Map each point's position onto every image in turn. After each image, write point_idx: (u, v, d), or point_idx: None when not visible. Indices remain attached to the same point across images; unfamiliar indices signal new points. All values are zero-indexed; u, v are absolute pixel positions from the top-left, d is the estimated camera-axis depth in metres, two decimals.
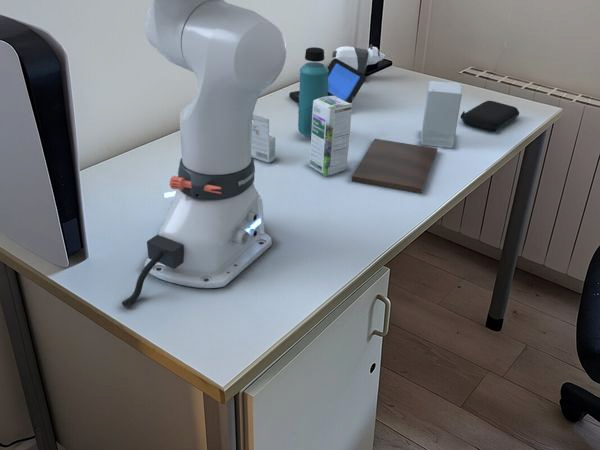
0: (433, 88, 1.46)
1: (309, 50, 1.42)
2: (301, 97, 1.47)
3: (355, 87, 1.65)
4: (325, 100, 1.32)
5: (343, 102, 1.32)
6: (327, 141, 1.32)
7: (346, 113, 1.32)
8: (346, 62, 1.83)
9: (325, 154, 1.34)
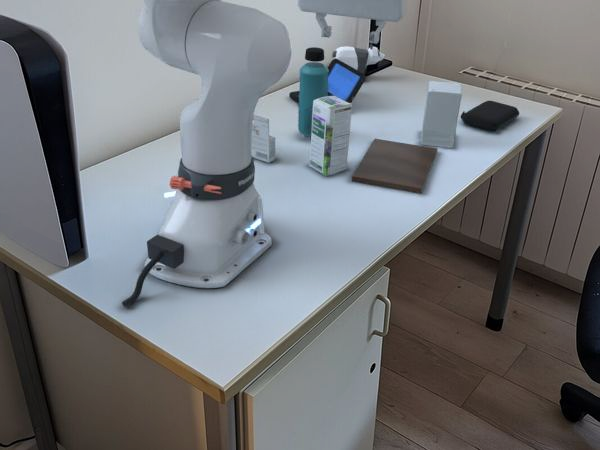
0: (433, 88, 1.46)
1: (309, 50, 1.42)
2: (301, 97, 1.47)
3: (355, 87, 1.65)
4: (325, 100, 1.32)
5: (343, 102, 1.32)
6: (327, 141, 1.32)
7: (346, 113, 1.32)
8: (346, 62, 1.83)
9: (325, 154, 1.34)
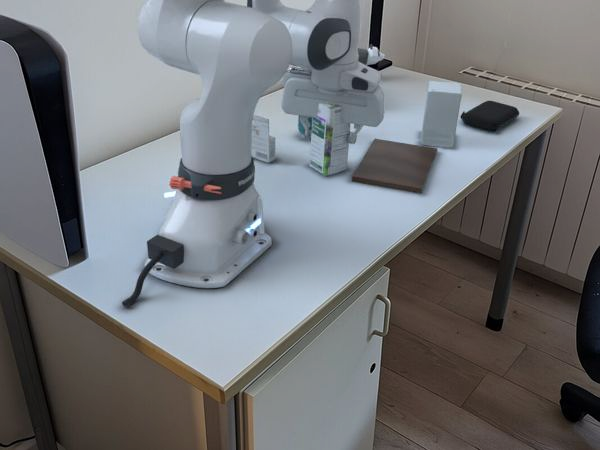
0: (433, 88, 1.46)
1: None
2: None
3: None
4: None
5: None
6: (327, 141, 1.32)
7: None
8: None
9: (325, 154, 1.34)
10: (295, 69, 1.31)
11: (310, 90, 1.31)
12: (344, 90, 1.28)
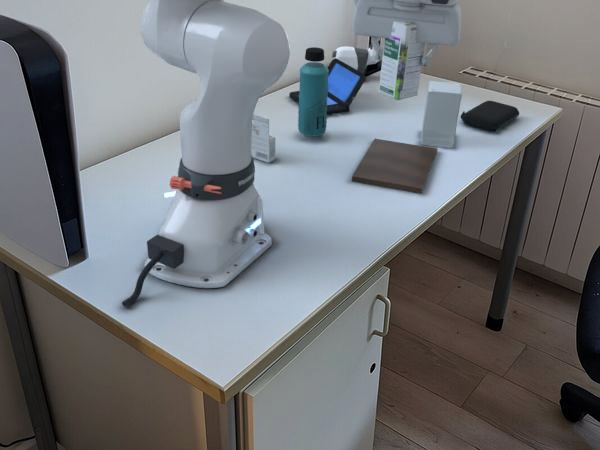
0: (433, 88, 1.46)
1: (309, 50, 1.42)
2: (301, 97, 1.47)
3: (355, 87, 1.65)
4: None
5: None
6: (401, 62, 1.27)
7: None
8: (346, 62, 1.83)
9: (398, 76, 1.28)
10: None
11: (384, 7, 1.25)
12: (421, 6, 1.23)
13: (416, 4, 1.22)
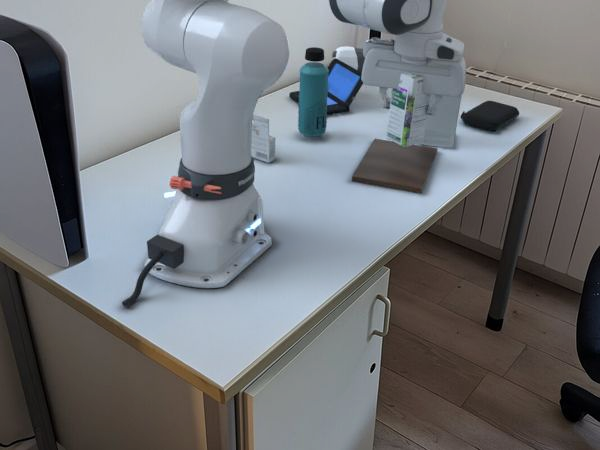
0: None
1: (309, 50, 1.42)
2: (301, 97, 1.47)
3: (355, 87, 1.65)
4: None
5: None
6: (408, 112, 1.32)
7: None
8: (346, 62, 1.83)
9: (405, 125, 1.34)
10: (377, 39, 1.31)
11: (392, 60, 1.31)
12: (428, 60, 1.28)
13: (423, 58, 1.28)
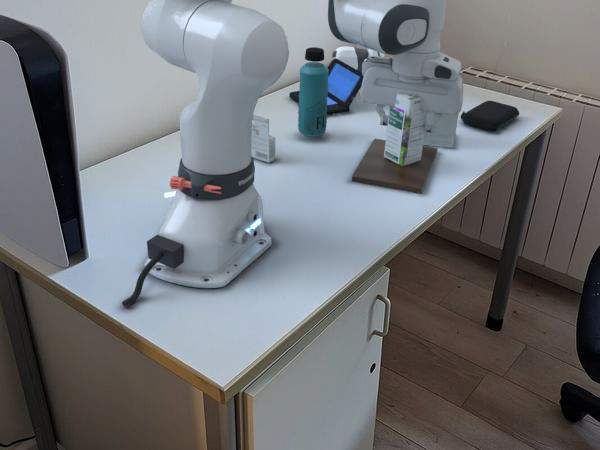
0: None
1: (309, 50, 1.42)
2: (301, 97, 1.47)
3: (355, 87, 1.65)
4: None
5: None
6: (405, 132, 1.35)
7: None
8: (346, 62, 1.83)
9: (402, 145, 1.36)
10: (375, 58, 1.33)
11: (390, 79, 1.33)
12: (425, 79, 1.30)
13: (420, 77, 1.30)
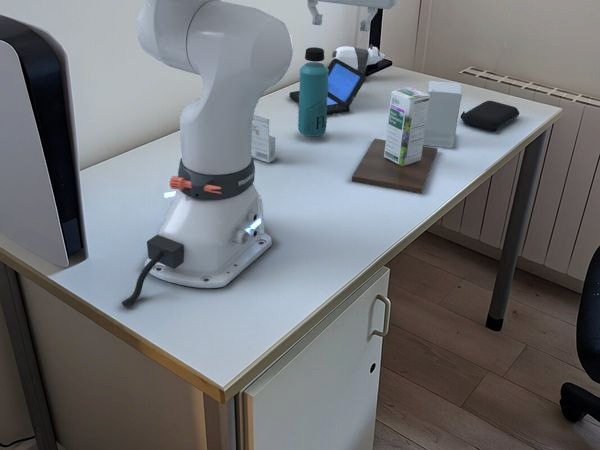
0: (433, 88, 1.46)
1: (309, 50, 1.42)
2: (301, 97, 1.47)
3: (355, 87, 1.65)
4: (403, 91, 1.34)
5: (421, 93, 1.34)
6: (405, 132, 1.35)
7: (424, 104, 1.34)
8: (346, 62, 1.83)
9: (402, 145, 1.36)
10: None
11: None
12: None
13: None
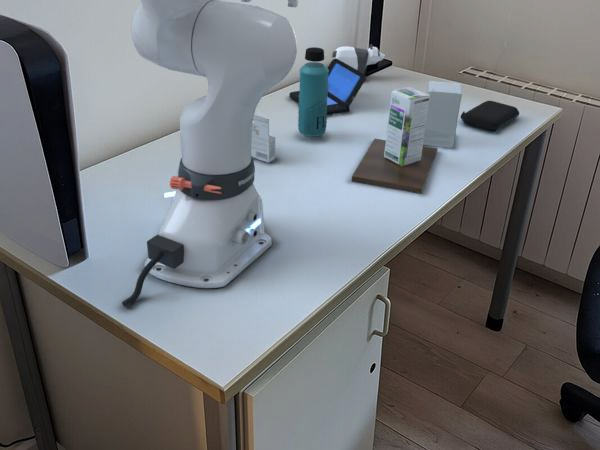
0: (433, 88, 1.46)
1: (309, 50, 1.42)
2: (301, 97, 1.47)
3: (355, 87, 1.65)
4: (403, 91, 1.34)
5: (421, 93, 1.34)
6: (405, 132, 1.35)
7: (424, 104, 1.34)
8: (346, 62, 1.83)
9: (402, 145, 1.36)
10: None
11: None
12: None
13: None
